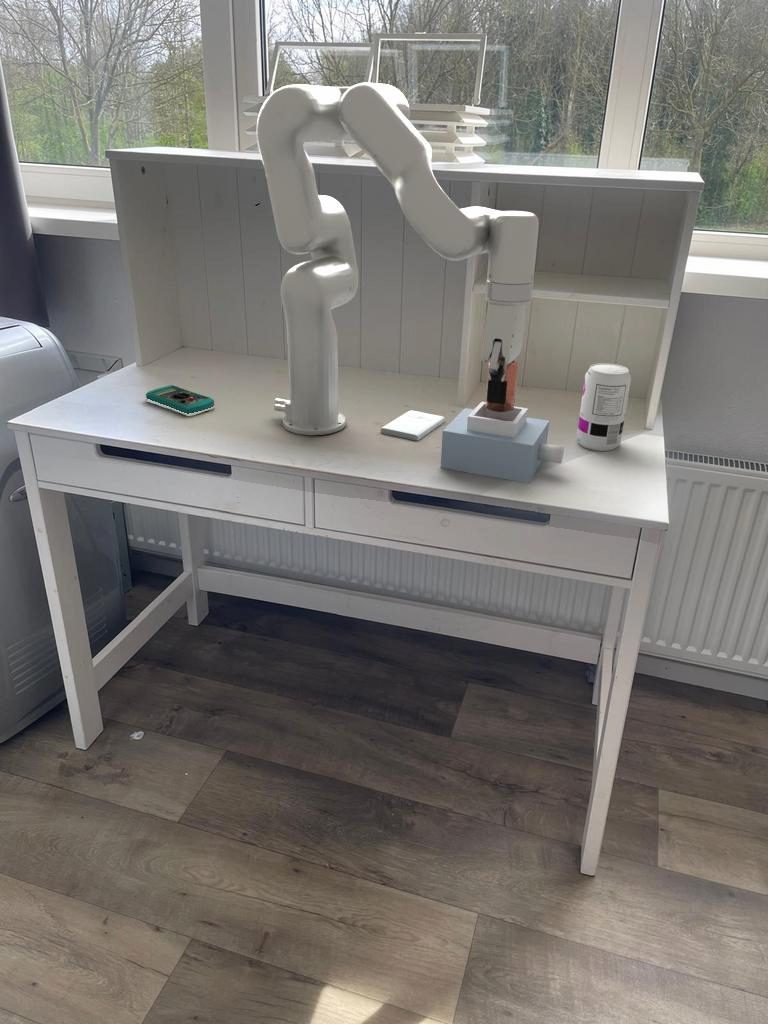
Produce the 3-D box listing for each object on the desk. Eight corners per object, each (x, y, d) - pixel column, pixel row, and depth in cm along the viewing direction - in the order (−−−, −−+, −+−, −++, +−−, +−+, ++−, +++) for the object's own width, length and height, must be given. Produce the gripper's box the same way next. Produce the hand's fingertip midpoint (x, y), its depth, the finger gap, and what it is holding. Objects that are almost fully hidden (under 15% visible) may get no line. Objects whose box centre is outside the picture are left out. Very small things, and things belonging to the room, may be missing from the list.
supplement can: (567, 443, 151) (577, 367, 144) (591, 433, 156) (602, 359, 149) (604, 455, 146) (617, 377, 139) (627, 444, 151) (640, 369, 144)
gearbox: (440, 467, 139) (443, 417, 135) (462, 442, 150) (465, 395, 146) (552, 487, 133) (558, 435, 128) (566, 460, 143) (573, 411, 139)
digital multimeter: (189, 419, 160) (188, 406, 158) (145, 403, 168) (143, 390, 167) (217, 410, 165) (216, 397, 164) (173, 395, 173) (171, 382, 172)
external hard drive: (380, 435, 154) (409, 416, 164) (417, 443, 151) (444, 423, 161) (380, 427, 154) (409, 409, 163) (417, 435, 150) (445, 416, 160)
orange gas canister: (482, 409, 136) (486, 354, 132) (489, 401, 140) (494, 347, 136) (510, 413, 134) (515, 357, 130) (517, 405, 138) (522, 350, 134)
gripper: (500, 281, 137) (492, 381, 145) (472, 299, 123) (465, 409, 131) (542, 284, 134) (532, 387, 142) (519, 304, 120) (509, 416, 128)
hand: (500, 396), depth 136 cm, fingers closed on orange gas canister, 5 cm apart
